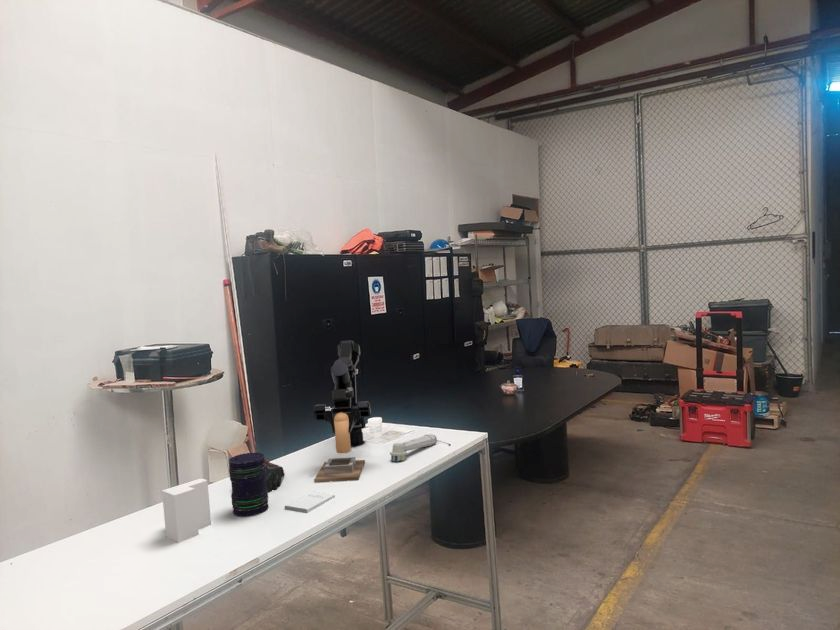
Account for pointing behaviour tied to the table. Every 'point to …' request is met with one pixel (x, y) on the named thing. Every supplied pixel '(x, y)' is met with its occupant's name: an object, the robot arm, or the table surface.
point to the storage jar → (248, 484)
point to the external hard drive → (309, 501)
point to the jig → (340, 470)
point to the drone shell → (273, 476)
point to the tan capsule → (342, 433)
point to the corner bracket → (186, 509)
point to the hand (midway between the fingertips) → (341, 432)
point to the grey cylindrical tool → (411, 446)
